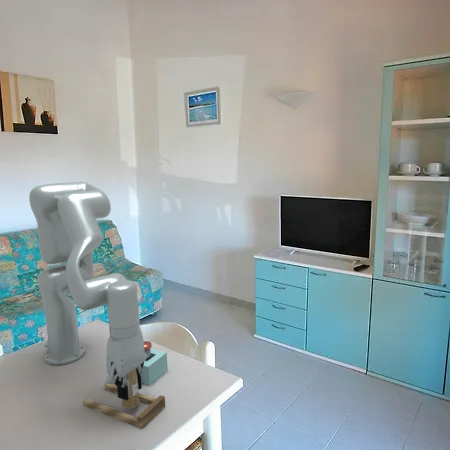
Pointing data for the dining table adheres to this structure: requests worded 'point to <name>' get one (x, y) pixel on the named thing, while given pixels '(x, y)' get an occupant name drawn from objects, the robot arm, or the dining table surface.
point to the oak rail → (138, 421)
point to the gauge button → (147, 349)
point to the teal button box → (154, 367)
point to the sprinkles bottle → (131, 390)
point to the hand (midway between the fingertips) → (130, 392)
